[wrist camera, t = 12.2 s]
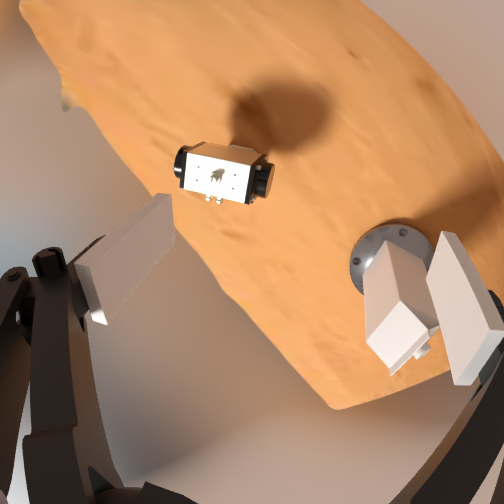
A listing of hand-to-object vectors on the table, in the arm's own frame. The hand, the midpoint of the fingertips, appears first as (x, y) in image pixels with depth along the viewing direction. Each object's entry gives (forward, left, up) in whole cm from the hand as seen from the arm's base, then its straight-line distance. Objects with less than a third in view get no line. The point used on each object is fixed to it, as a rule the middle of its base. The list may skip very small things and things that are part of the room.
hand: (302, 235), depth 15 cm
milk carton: (+18, +13, -30) cm, 37 cm away
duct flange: (+18, +13, -31) cm, 38 cm away
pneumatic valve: (+5, -12, -32) cm, 34 cm away
